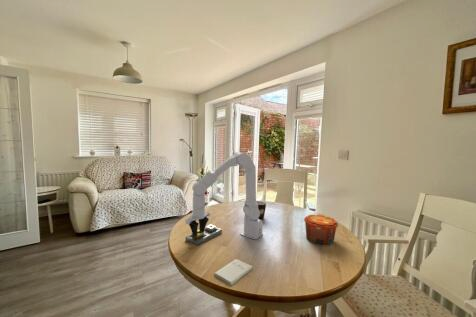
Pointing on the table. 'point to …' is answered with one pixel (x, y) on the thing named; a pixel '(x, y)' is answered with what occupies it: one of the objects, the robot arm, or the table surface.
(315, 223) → the food container
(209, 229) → the cube with domed knob
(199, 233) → the tan wooden cube
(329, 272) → the table surface
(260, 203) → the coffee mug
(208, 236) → the grey rectangular slotted frame
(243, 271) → the external hard drive
